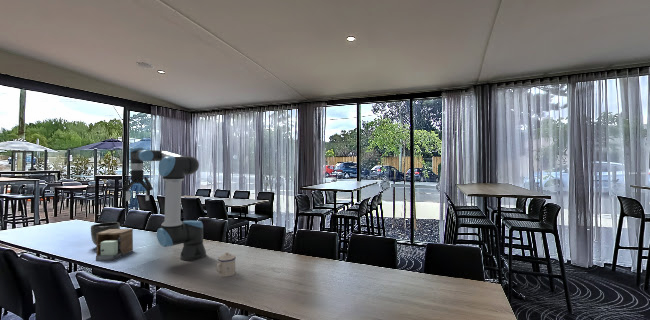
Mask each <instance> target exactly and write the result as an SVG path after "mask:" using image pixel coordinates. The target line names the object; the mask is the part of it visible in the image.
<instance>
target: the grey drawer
mask: <svg viewBox="0 0 650 320" xmlns="http://www.w3.org/2000/svg"><path fill="white" fill-rule="evenodd" d="M118 243H121V237H118ZM118 251H121V245H118ZM122 257H124V255H123V252H118V254H116V255H112V256H101V254H100V255H98V256H97V255H96V256H95V261H96V262H97V261H99V262H100V261H101V262H102V261H107V262H108V261H115V260H118V259H120V258H122Z"/></svg>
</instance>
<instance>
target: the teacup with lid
mask: <svg viewBox="0 0 650 320" xmlns="http://www.w3.org/2000/svg"><path fill="white" fill-rule="evenodd" d="M217 260H218V264H217V265H216V267H215V271H216V272H217V274H218V276H219V277H223V278H228V277H231V276H233V275H235V274H236V255H234V254H231V253H230V252H229V251H227V252H224V254H222V255H220V256H219V257H218V259H217Z"/></svg>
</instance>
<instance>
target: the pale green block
mask: <svg viewBox="0 0 650 320" xmlns="http://www.w3.org/2000/svg"><path fill="white" fill-rule="evenodd" d="M116 254H118V241H103V242H101V256H112V255H116Z"/></svg>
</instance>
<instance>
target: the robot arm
mask: <svg viewBox="0 0 650 320" xmlns="http://www.w3.org/2000/svg"><path fill="white" fill-rule="evenodd" d="M144 162H159V164H158V173H159V175H160V176H161V177H162V180H163V181H164V182H165V186H164V187H165V189H164V191H165V193H164V221H163V222H162V223H161V227H159V228H157V231H156V239H157V241H158V244H159V245H160V246H162V247H163V248H168V247H169V248H170V247H174V246H178V245H182V244H183V245H182V249H181V252H180V257H179V259H180V260H182V261H195V260H201V259H203V258H205V257H206V256H207V250H206V248H205V247H206V246H205V245H204V224H203V222H202V221H201V220H191V219H190V220H183V221H182V220H181V216H182V215H181V213H182V212H181V210H182V209H181V208H182V183H183V182H182V181H184V180H185V176H189V175H193V174H195V173H196V172H197V171H198V170H199V167H200V162H199V160H198V159H197V158H196V157H193V156H189V155H187V156H185V155H181V154H177V153H173V151H172V150H161V149H160V150H159V149H158V150H157V149H156V150H152V149H151V150H150V149H144V148H143V147H131V148H130V176H127V177H125V178H126V179H125V182H124V184H123V185H122V188H121V191H124V196H125V202H128V201H130V200H131V199H130V198H131V197H130V194H131V193H130V189H131V188H132V187H133V185H134V184H140V185H141V186H142V187H143V188H144V190H145V201H146V202H147V201H150V196H151V191H153V190H154V188H153V186H152V184H151V181H150V180H149V177H148V176H144Z"/></svg>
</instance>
